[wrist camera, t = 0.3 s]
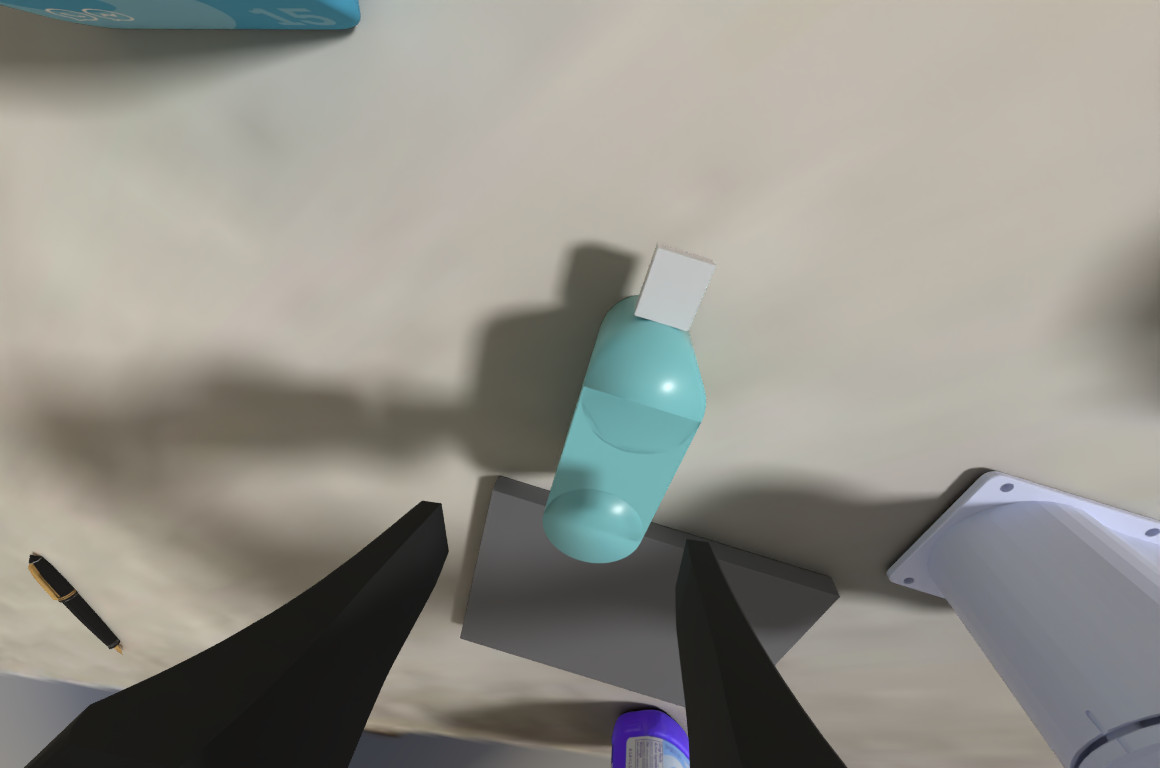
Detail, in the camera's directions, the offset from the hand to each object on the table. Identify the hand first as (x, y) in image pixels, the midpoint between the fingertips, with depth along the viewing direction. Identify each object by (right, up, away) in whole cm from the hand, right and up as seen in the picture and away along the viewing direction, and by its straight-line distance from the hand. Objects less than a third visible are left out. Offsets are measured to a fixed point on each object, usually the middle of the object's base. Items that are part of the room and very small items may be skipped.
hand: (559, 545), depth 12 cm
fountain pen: (-45, -16, +26) cm, 55 cm away
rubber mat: (+4, -10, +15) cm, 18 cm away
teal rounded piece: (+3, +5, +8) cm, 10 cm away
